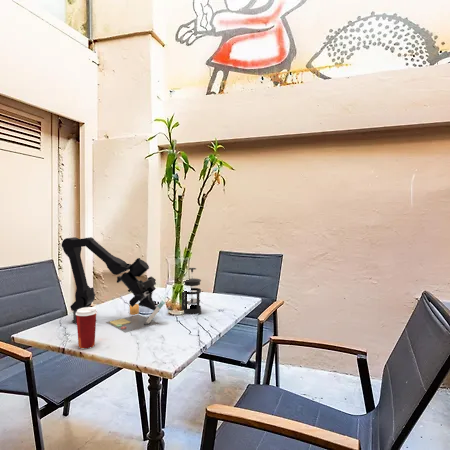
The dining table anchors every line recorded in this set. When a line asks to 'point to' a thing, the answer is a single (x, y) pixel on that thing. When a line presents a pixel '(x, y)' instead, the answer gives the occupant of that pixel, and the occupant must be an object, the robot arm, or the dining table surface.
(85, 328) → the paper cup
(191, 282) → the french press
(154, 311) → the lever
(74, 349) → the dining table surface
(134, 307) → the cap
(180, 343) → the dining table surface
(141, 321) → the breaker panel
